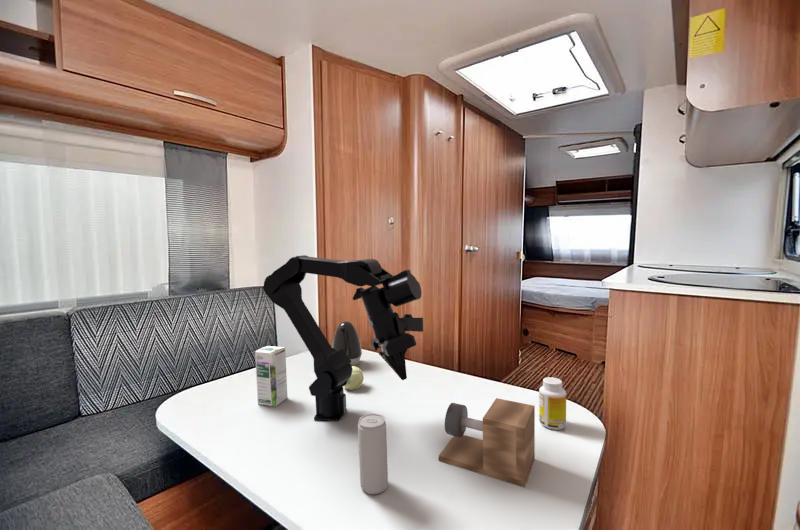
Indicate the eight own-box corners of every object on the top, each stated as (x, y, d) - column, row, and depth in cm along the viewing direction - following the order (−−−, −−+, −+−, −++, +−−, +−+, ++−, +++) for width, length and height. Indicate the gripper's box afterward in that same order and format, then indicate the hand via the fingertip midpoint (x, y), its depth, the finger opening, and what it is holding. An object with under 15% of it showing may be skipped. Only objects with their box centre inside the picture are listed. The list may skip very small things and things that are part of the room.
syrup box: (256, 404, 95) (253, 351, 94) (271, 395, 101) (268, 344, 100) (275, 407, 94) (271, 352, 92) (288, 397, 99) (285, 345, 98)
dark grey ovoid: (327, 370, 119) (325, 325, 117) (338, 359, 129) (336, 317, 128) (357, 371, 117) (355, 325, 116) (365, 360, 127) (364, 318, 126)
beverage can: (384, 498, 60) (381, 428, 59) (356, 494, 61) (353, 426, 60) (390, 478, 64) (388, 414, 64) (365, 476, 65) (362, 412, 64)
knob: (445, 440, 70) (444, 410, 69) (456, 425, 75) (455, 397, 75) (488, 452, 66) (487, 420, 65) (497, 436, 71) (496, 406, 70)
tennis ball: (337, 364, 105) (350, 370, 100) (356, 362, 109) (369, 367, 104) (335, 387, 104) (348, 393, 99) (354, 383, 109) (367, 389, 104)
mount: (438, 460, 69) (437, 407, 68) (455, 437, 77) (455, 389, 76) (525, 487, 61) (524, 428, 60) (534, 458, 69) (534, 405, 68)
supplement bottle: (571, 425, 80) (571, 381, 79) (556, 434, 77) (556, 387, 76) (548, 415, 85) (549, 373, 84) (534, 423, 82) (533, 379, 81)
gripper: (425, 297, 74) (452, 369, 73) (402, 302, 92) (423, 361, 91) (375, 316, 71) (402, 392, 70) (361, 318, 89) (383, 378, 88)
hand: (404, 379), depth 80 cm, fingers closed
